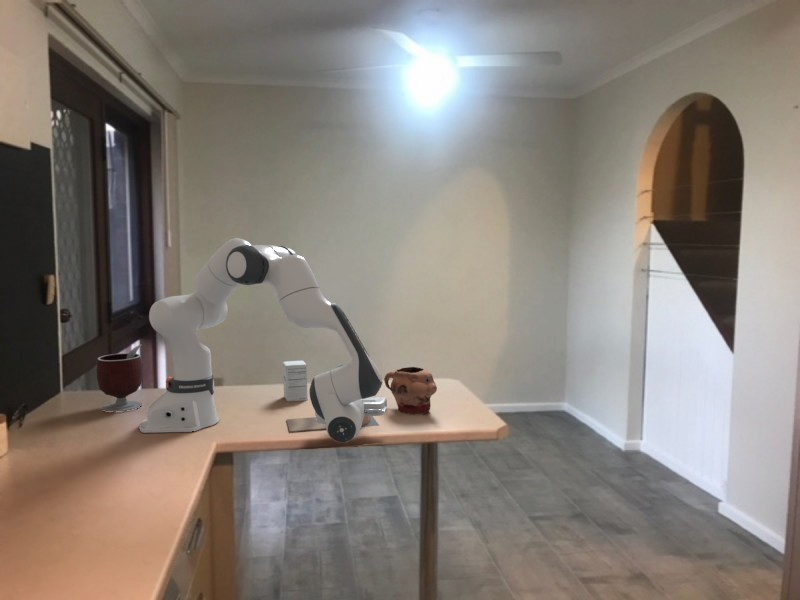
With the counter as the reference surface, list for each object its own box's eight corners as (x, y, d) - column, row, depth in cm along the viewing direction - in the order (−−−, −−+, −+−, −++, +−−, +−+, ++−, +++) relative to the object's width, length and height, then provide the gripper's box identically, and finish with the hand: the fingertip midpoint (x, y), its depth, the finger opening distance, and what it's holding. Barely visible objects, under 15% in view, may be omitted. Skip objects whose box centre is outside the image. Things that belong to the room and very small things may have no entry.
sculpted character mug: (373, 411, 202) (372, 368, 200) (393, 402, 212) (392, 362, 210) (427, 420, 191) (427, 375, 190) (446, 411, 202) (446, 368, 200)
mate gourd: (115, 415, 199) (112, 353, 197) (89, 409, 206) (86, 349, 204) (157, 404, 212) (154, 345, 210) (131, 399, 219) (128, 342, 217)
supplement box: (283, 396, 221) (282, 361, 220) (304, 395, 223) (303, 359, 222) (286, 402, 214) (285, 365, 213) (308, 400, 216) (307, 363, 215)
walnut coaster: (289, 434, 179) (289, 431, 179) (286, 422, 190) (286, 419, 190) (331, 431, 182) (331, 427, 181) (326, 419, 193) (326, 416, 193)
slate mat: (338, 430, 182) (338, 428, 182) (332, 418, 194) (332, 417, 194) (379, 427, 185) (379, 425, 185) (371, 416, 197) (371, 414, 196)
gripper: (386, 400, 169) (388, 388, 183) (310, 400, 170) (318, 387, 183) (386, 423, 170) (388, 409, 184) (311, 423, 170) (318, 409, 184)
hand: (353, 398), depth 183 cm, fingers open, 8 cm apart
